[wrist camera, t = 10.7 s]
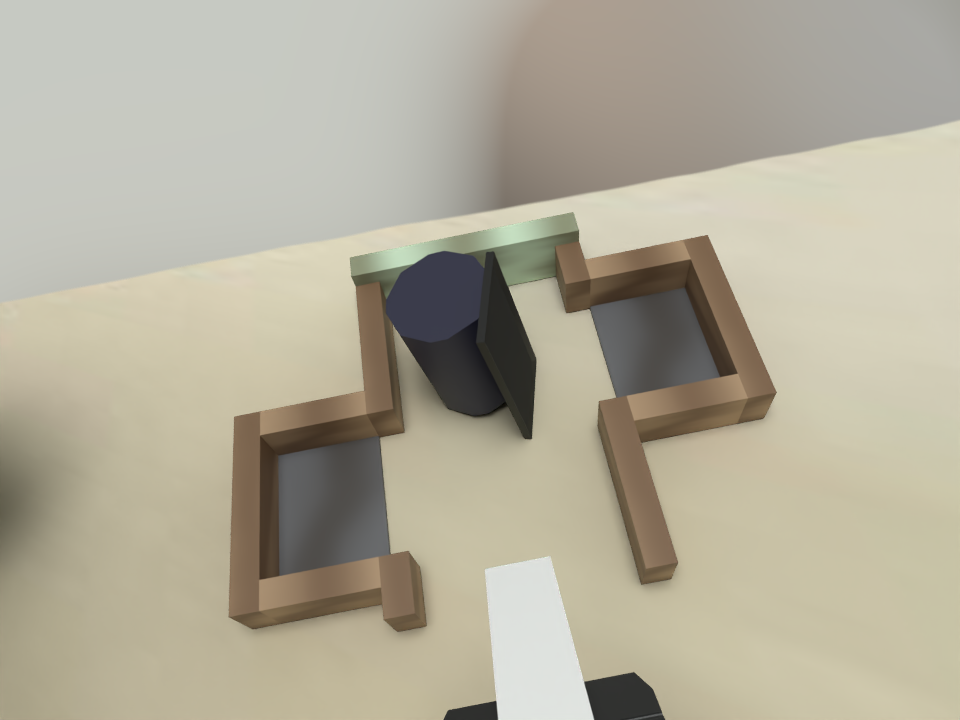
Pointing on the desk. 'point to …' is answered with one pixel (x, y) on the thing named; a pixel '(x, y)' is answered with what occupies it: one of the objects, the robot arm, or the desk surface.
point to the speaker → (466, 334)
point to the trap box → (378, 412)
